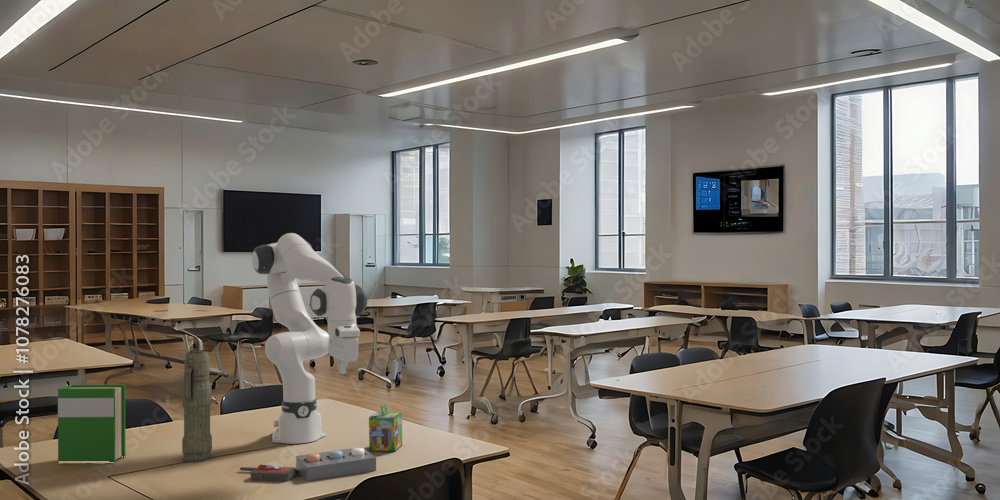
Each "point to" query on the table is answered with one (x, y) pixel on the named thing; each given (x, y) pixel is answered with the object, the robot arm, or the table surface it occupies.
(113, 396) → the hardback book
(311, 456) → the orange egg
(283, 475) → the walkie-talkie
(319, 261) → the robot arm
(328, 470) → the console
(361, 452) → the white ellipsoid
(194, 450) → the thermos
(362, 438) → the table surface
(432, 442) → the table surface
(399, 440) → the chalk box
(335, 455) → the pale blue egg shape
